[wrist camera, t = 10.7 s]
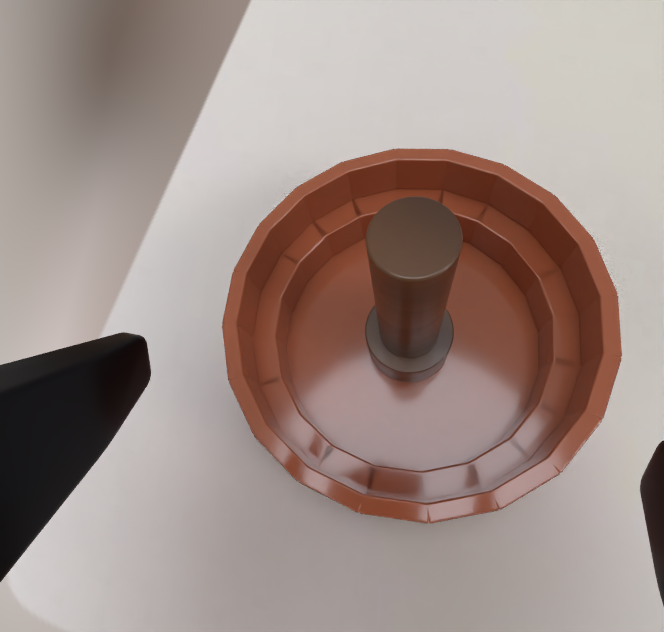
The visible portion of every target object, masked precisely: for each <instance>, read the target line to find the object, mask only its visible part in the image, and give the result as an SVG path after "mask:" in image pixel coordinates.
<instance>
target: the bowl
mask: <svg viewBox="0 0 664 632" xmlns="http://www.w3.org/2000/svg"><path fill="white" fill-rule="evenodd" d="M411 196H419V197H426V198H430V199H433V200H436V201H438V202H440V203H442V204H443V205H445V206H446V207H447V208H449V209H450V210H451V211H452V212H453V214H454V215H455V216H456V218H457V220H458V221H459V223H460V226H461V229H462V234H463V243H462V249H461V252H460V256H459V260H458V264H457V268H456V271H455V275H454V279H453V283H452V286H451V290H450V294H449V298H448V301H447V305H446V309H447V310H448V312H449V314H450V316H451V319H452V322H453V327H454V336H453V342H452V345H451V348H450V350H449V353H448V355H447V358H446V360H445V362H444V364H443V365H442V367H441V368H440V369H439V370H438V371H437V372H436V373H435V374H433V375H432V376H430V377H428V378H426V379H424V380H421V381H416V382H402V381H398V380H395V379H392V378H390V377H388V376H387V375H385V374H384V373H382V372H381V371H380V370H379V369H378V368H377V366H376V365H375V364H374V362H373V360H372V358H371V356H370V353H369V349H368V345H367V341H366V336H365V326H366V321H367V317H368V315H369V313H370V311H371V310H372V308H373V307H374V305H375V300H374V293H373V287H372V280H371V274H370V267H369V261H368V254H367V248H366V233H367V229H368V226H369V224H370V222H371V220H372V219H373V217H374V216H375V215H376V213H377V212H378V211H379V210H380V209H381V208H383V207H384V206H385V205H387V204H389V203H390V202H392V201H395V200H397V199H400V198H404V197H411ZM222 324H223V325H222V329H223V338H224V347H225V356H226V364H227V373H228V380H229V384H230V386H231V388H232V390H233V392H234V394H235V396H236V399H237V401H238V403H239V405H240V407H241V409H242V411H243V414H244V416H245V418H246V420H247V422H248V424H249V426H250V429H251V431H252V433H253V434H254V436H255V438H256V439H257V440H258V441H259V442H260V443H261V444H262V445H263V446H264V447H265V448H266V449H267V450H268V451H269V452H270V453H271V454H272V455H273V456H274V457H275V458H276V460H277V461H278V462H279V463H280V464H281V465H282V466H283V467H284V468H285V469H286V470H287V471H288V472H289V473H290V474H291V475H292V476H293V477H294V478H295V479H296V480H297V481H299V482H300V483H301V484H303V485H305V486H307V487H309V488H311V489H313V490H315V491H316V492H318V493H320V494H322V495H324V496H326V497H328V498H330V499H332V500H334V501H336V502H338V503H340V504H342V505H343V506H345V507H347V508H349V509H351V510H353V511H355V512H357V513H361V514H366V515H373V516H380V517H386V518H393V519H400V520H407V521H413V522H420V523H436V522H441V521H446V520H451V519H457V518H462V517H467V516H472V515H477V514H483V513H488V512H493V511H498V510H499V509H503V508H504V507H506V506H508V505H509V504H511V503H513V502H514V501H516V500H518V499H519V498H521V497H523V496H524V495H526V494H528V493H529V492H531V491H533V490H534V489H536V488H538V487H539V486H541V485H543V484H544V483H546V482H548V481H549V480H551V479H553V478H554V477H556V476H558V475H559V474H560V473H561V472H562V471H563V470H564V469H565V467H566V466H567V465H568V464H569V462H570V461H571V460H572V459H573V457H574V456H575V455H576V453H577V452H578V451H579V450H580V448H581V447H582V446H583V445H584V443H585V442H586V441H587V440H588V438H589V437H590V436H591V434H592V433H593V432H594V431H595V429H596V428H597V427H598V426H599V424H600V423H601V421H602V419H603V418H604V414H605V411H606V408H607V405H608V401H609V398H610V395H611V392H612V388H613V385H614V382H615V379H616V375H617V372H618V369H619V366H620V362H621V358H620V357H621V356H622V352H621V336H620V321H619V306H618V296H617V291H616V289H615V287H614V284H613V282H612V280H611V278H610V275H609V273H608V271H607V268H606V266H605V264H604V261H603V259H602V257H601V255H600V252H599V250H598V248H597V245H596V243H595V241H594V240H593V237H592V236H591V235H590V234H589V233H588V232H587V231H586V230H585V229H584V227H583V226H582V225H581V224H580V223H579V222H578V221H577V220H576V218H575V217H574V216H573V215H572V214H571V213H570V212H569V211H568V209H567V208H566V207H565V206H564V205H563V204H562V203H561V202H560V201H559V199H558V198H557V197H556V196H555V195H553V194H552V193H550V192H549V191H547V190H545V189H544V188H542V187H541V186H539V185H537V184H536V183H534V182H532V181H531V180H529V179H527V178H526V177H524V176H523V175H521V174H519V173H518V172H516V171H514V170H513V169H511V168H509V167H508V166H506V165H505V166H504V164H501V163H497V162H494V161H490V160H487V159H483V158H480V157H476V156H473V155H469V154H466V153H462V152H458V151H455V150H449V149H392V150H388V151H384V152H380V153H376V154H372V155H368V156H364V157H360V158H356V159H352V160H348V161H344V162H341V163H339V164H337V165H335V166H334V167H332V168H330V169H328V170H326V171H325V172H323V173H321V174H319V175H318V176H316V177H314V178H312V179H310V180H309V181H307V182H305V183H303V184H301V185H300V186H298V187H297V188H295V189H294V190H293V191H292V192H291V193H290V194H289V195H288V196H287V197H286V198H285V199H284V200H283V201H282V202H281V203H280V204H279V205H278V206H277V207H276V208H275V209H274V210H273V211H272V212H271V213H270V214H269V215H268V216H267V217H266V218H265V219H264V220H263V221H262V222H261V223H260V224H259V226H258V227H257V229H256V231H255V232H254V234H253V236H252V238H251V240H250V241H249V243H248V245H247V247H246V249H245V250H244V252H243V254H242V256H241V258H240V260H239V261H238V263H237V265H236V267H235V269H234V272H233V274H232V279H231V284H230V288H229V293H228V298H227V303H226V308H225V313H224V318H223V322H222Z"/></svg>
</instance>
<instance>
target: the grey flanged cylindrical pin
mask: <svg viewBox="0 0 664 632" xmlns="http://www.w3.org/2000/svg"><path fill="white" fill-rule="evenodd" d="M462 243H463V234H462V229H461V226H460V223H459V221H458V220H457V218H456V216H455V215H454V214H453V212H452V211H451V210H450V209H449V208H447V207H446V206H445V205H443V204H442V203H440V202H438V201H436V200H433V199H430V198H426V197H419V196H411V197H404V198H400V199H397V200H395V201H392V202H390V203H389V204H387V205H385V206H384V207H383V208H381V209H380V210H379V211H378V212H377V213H376V215H375V216H374V217H373V219H372V220H371V222H370V224H369V226H368V229H367V233H366V248H367V254H368V261H369V267H370V274H371V280H372V287H373V293H374V300H375V305H374V307H373V308H372V310H371V311H370V313H369V315H368V317H367V321H366V326H365V336H366V341H367V345H368V349H369V353H370V356H371V358H372V360H373V362H374V364H375V365H376V366H377V368H378V369H379V370H380V371H381V372H382V373H384V374H385V375H387V376H388V377H390V378H392V379H395V380H398V381H402V382H416V381H421V380H424V379H426V378H428V377H430V376H432V375H433V374H435V373H436V372H437V371H438V370H439V369H440V368H441V367H442V365H443V364H444V362H445V360H446V358H447V355H448V353H449V350H450V348H451V345H452V342H453V336H454V327H453V322H452V319H451V316H450V314H449V312H448V310H447V309H446V305H447V301H448V298H449V294H450V290H451V286H452V283H453V279H454V275H455V271H456V268H457V264H458V260H459V256H460V252H461V249H462Z"/></svg>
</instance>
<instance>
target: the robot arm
mask: <svg viewBox="0 0 664 632" xmlns="http://www.w3.org/2000/svg"><path fill="white" fill-rule="evenodd" d="M150 377H151V368H150V361H149V355H148V348H147V342H146V340H145V338H144V337H142V336H140V335H135V334H130V333H118V334H115V335H111V336H107V337H103V338H100V339H96V340H92V341H89V342H85V343H81V344H78V345H74V346H70V347H66V348H62V349H59V350H55V351H52V352H48V353H44V354H40V355H36V356H33V357H29V358H25V359H21V360H18V361H14V362H11V363H7V364H3V365H0V582H1V581H2V580H3V578H4V577H5V576H6V574H7V573H8V572H9V571H10V569H11V568H12V567H13V566H14V564H15V563H16V562H17V561H18V559H19V558H20V557H21V556H22V554H23V553H24V552H25V551H26V549H27V548H28V547H29V545H30V544H31V543H32V542H33V540H34V539H35V538H36V537H37V535H38V534H39V533H40V532H41V530H42V529H43V528H44V527H45V525H46V524H47V523H48V522H49V520H50V519H51V518H52V517H53V515H54V514H55V513H56V511H57V510H58V509H59V508H60V506H61V505H62V504H63V503H64V501H65V500H66V499H67V498H68V496H69V495H70V494H71V493H72V491H73V490H74V489H75V488H76V486H77V485H78V484H79V483H80V481H81V480H82V479H83V477H84V476H85V475H86V474H87V472H88V471H89V470H90V469H91V467H92V466H93V465H94V464H95V462H96V461H97V460H98V459H99V457H100V456H101V455H102V453H103V452H104V451H105V449H106V448H107V447H108V445H109V444H110V442H111V441H112V439H113V438H114V436H115V435H116V433H117V432H118V430H119V429H120V427H121V425H122V424H123V422H124V421H125V419H126V418H127V416H128V415H129V413H130V411H131V410H132V408H133V407H134V405H135V404H136V402H137V401H138V399H139V397H140V396H141V394H142V393H143V391H144V390H145V388H146V387H147V385H148V383H149V380H150ZM640 492H641V498H642V504H643V509H644V514H645V520H646V525H647V531H648V536H649V542H650V547H651V552H652V558H653V563H654V569H655V574H656V578H657V583H658V587H659V591H660V595H661V598H662V602H663V605H664V441H662V442H661V443H660V444H659V445H658V446H657V448H656V450H655V452H654V454H653V456H652V458H651V460H650V462H649V464H648V466H647V468H646V470H645V472H644V474H643V477H642V479H641V485H640Z"/></svg>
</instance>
